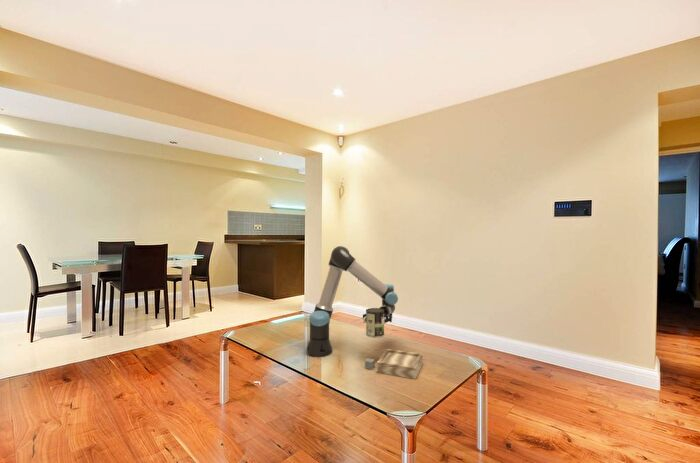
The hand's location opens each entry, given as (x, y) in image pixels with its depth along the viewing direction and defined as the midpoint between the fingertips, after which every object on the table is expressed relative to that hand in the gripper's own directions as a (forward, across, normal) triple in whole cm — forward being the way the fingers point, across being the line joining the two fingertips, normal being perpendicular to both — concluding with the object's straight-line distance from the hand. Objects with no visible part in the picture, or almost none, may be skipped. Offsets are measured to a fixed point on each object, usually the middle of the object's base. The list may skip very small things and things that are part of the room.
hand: (372, 321), depth 174 cm
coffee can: (-4, 0, -9) cm, 10 cm away
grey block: (+7, 0, -23) cm, 24 cm away
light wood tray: (+1, -15, -23) cm, 27 cm away
